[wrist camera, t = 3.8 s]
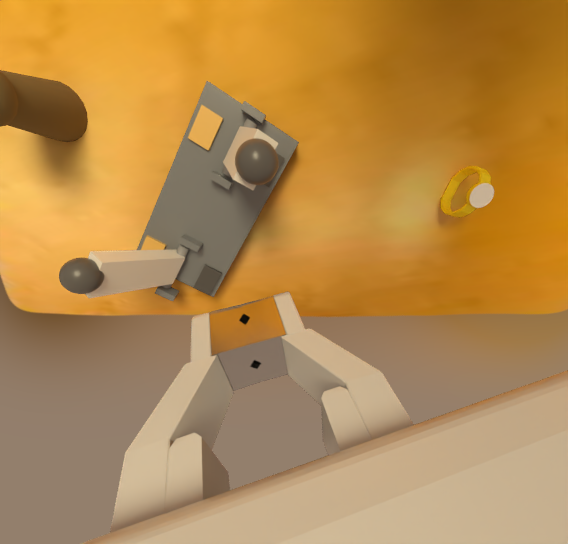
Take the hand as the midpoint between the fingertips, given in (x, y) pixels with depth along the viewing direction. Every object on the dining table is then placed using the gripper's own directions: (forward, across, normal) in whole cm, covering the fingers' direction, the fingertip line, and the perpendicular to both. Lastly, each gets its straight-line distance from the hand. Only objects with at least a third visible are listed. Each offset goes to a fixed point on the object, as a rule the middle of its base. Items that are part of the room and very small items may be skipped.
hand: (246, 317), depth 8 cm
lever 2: (+26, -3, +1) cm, 26 cm away
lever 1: (+24, +8, +13) cm, 29 cm away
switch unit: (+28, +1, +7) cm, 29 cm away
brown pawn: (+34, +16, -4) cm, 38 cm away
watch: (+22, -29, +10) cm, 38 cm away
